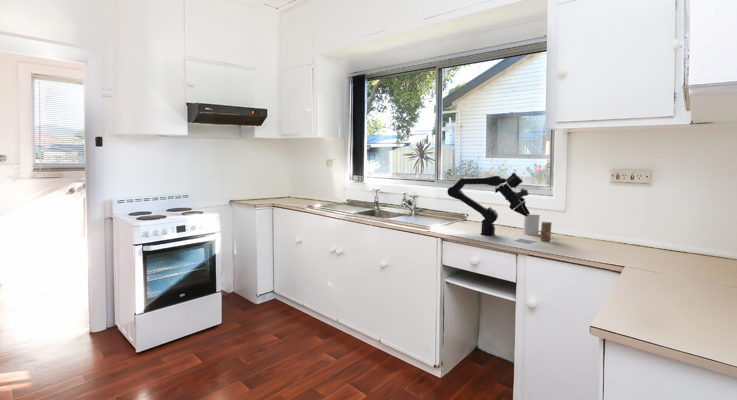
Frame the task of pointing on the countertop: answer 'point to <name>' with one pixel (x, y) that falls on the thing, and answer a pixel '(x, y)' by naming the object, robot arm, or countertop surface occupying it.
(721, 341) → the countertop surface
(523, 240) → the silicone mat
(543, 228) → the walnut block
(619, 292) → the countertop surface
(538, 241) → the ceramic tile
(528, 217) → the cup
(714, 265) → the countertop surface
